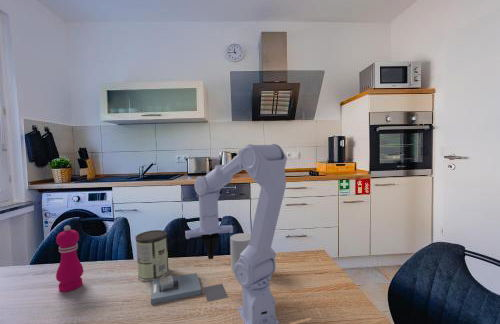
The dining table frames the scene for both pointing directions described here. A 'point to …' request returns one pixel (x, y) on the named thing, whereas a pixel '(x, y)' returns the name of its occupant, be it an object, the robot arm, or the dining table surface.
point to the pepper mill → (69, 261)
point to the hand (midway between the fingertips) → (210, 257)
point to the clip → (166, 283)
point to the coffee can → (152, 255)
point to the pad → (215, 292)
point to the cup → (238, 247)
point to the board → (186, 289)
